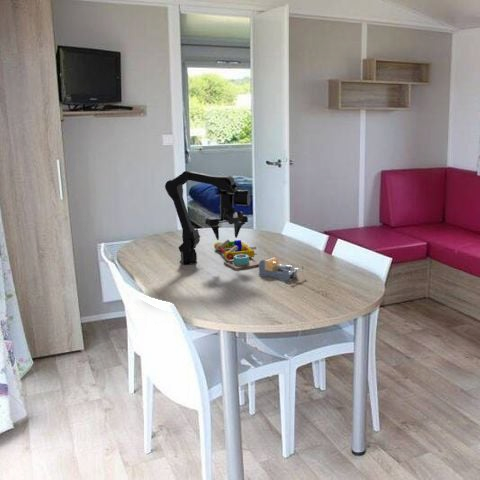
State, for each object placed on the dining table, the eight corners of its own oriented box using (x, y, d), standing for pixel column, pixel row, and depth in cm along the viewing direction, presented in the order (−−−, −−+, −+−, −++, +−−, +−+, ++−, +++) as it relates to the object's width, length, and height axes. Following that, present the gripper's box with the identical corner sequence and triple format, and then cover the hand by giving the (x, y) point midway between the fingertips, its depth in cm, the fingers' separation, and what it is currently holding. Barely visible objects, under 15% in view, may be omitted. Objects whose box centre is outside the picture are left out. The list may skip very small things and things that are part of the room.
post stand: (235, 270, 235) (235, 259, 234) (223, 264, 245) (223, 253, 244) (259, 266, 240) (259, 255, 239) (246, 260, 251) (246, 249, 250)
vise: (256, 275, 228) (256, 260, 226) (271, 269, 235) (271, 255, 234) (290, 283, 216) (290, 267, 215) (305, 277, 224) (305, 262, 222)
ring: (238, 265, 238) (238, 258, 238) (232, 262, 244) (231, 255, 243) (251, 263, 241) (251, 256, 240) (244, 260, 247) (244, 253, 246)
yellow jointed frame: (227, 249, 242) (213, 237, 270) (227, 262, 243) (213, 249, 272) (266, 245, 246) (248, 234, 275) (266, 258, 248) (248, 246, 276)
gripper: (215, 209, 226) (215, 245, 230) (254, 205, 234) (253, 240, 238) (204, 205, 235) (205, 239, 239) (242, 201, 244) (241, 235, 248)
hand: (226, 238), depth 241 cm, fingers open, 9 cm apart
